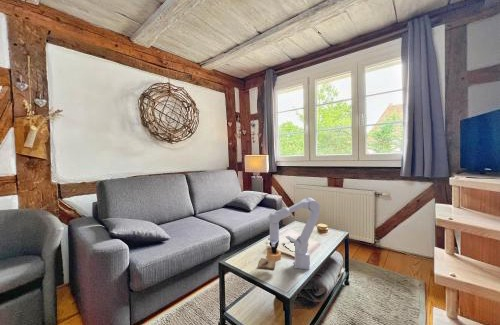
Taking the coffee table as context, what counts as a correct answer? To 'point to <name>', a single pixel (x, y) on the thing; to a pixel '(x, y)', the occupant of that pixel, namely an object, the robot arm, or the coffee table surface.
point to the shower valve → (290, 239)
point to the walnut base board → (266, 266)
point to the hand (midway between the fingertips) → (274, 252)
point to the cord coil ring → (273, 255)
